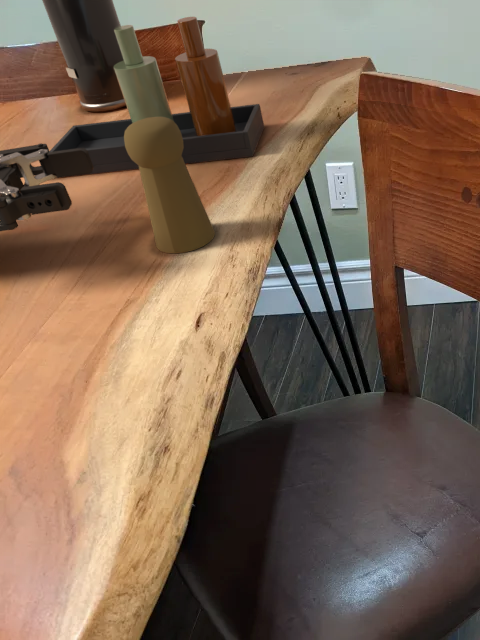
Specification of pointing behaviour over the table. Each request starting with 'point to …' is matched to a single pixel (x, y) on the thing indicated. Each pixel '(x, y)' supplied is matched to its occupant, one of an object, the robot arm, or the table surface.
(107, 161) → the tray
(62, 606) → the table surface
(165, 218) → the olive peg figure
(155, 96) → the sage bottle
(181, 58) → the amber bottle
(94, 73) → the robot arm
